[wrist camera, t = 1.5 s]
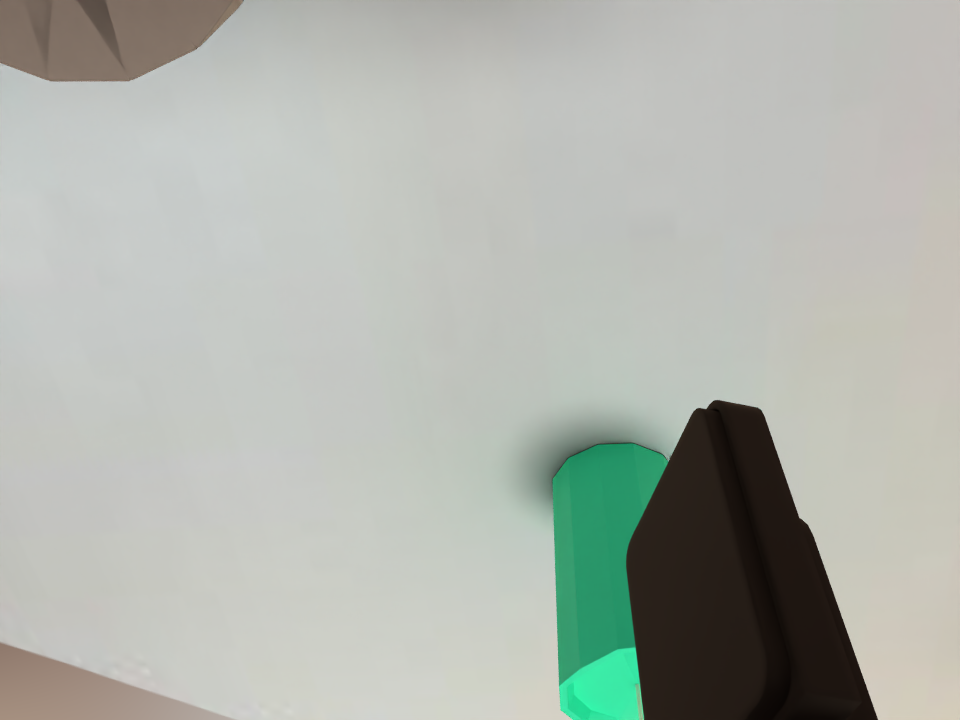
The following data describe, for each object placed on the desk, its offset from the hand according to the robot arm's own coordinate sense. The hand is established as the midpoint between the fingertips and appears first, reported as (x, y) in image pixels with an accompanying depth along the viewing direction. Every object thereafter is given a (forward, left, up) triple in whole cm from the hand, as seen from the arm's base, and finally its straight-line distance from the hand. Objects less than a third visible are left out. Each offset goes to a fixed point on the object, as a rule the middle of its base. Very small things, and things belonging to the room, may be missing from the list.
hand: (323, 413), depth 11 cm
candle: (+15, -17, -20) cm, 30 cm away
